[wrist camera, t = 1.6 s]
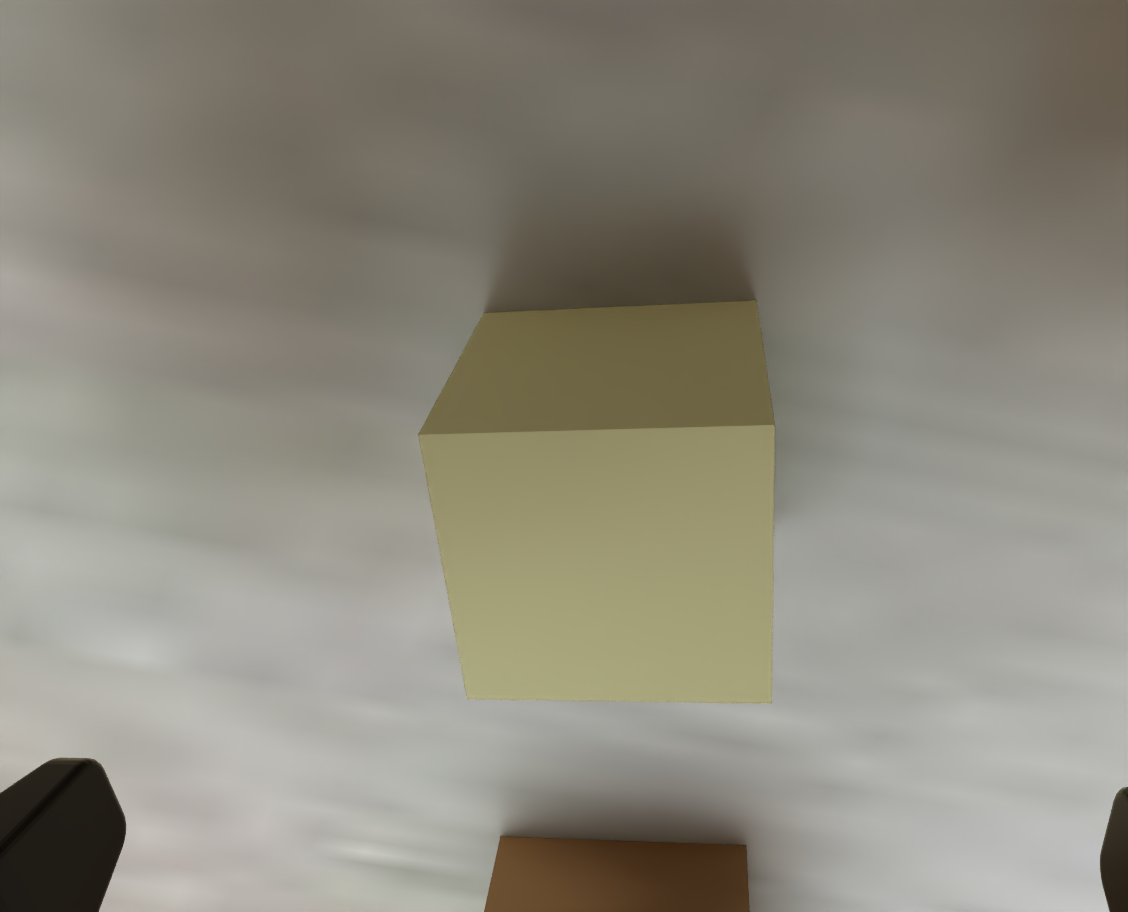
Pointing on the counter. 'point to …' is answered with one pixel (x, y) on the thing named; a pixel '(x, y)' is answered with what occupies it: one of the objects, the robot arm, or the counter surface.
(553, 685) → the sage block
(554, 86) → the counter surface
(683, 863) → the walnut base
